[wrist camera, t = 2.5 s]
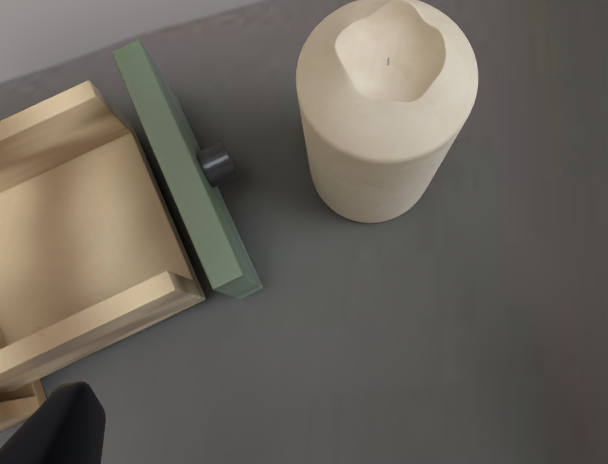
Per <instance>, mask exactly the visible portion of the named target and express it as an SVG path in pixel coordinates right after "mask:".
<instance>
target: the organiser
mask: <svg viewBox="0 0 608 464" xmlns="http://www.w3.org/2000/svg"><path fill="white" fill-rule="evenodd" d="M46 399H47V398H46V395H45V392H44V389H43V386H42V384H41V381H40V379H38V380H36V381H34V382H32V383H29V384H27V385H25V386H23V387H21V388H19V389H17V390H14V391H8V392H3V393H0V432H2V431H4V430H6V429H8V428H10V427H12V426H14V425H16V424H19V423H21V422H23V421H25V420H27V419H29V417H30V416H31V415H32V414H33V413H34V412H35V411H36V410H37V409H38V408H39V407H40V406H41V405H42V404H43V402H44V401H45V400H46Z"/></svg>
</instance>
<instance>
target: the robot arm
mask: <svg viewBox="0 0 608 464" xmlns="http://www.w3.org/2000/svg"><path fill="white" fill-rule="evenodd" d="M105 422H106V419H105V412H104V409H103V407H102V405H101V404H100V402H99V400H98V399H97V397H96V395H95V394H94V392H93V391H92V389H91V387H90V386H89V384H87V383H86V382H74V383H66V384H63V385H60V386H59V387H58V388H57V389H56V390H55V391H54V392H53V393H52V394H51V395H50V396H49V397H48V398H47V399H46V400H45V401H44V402H43V404H42V405H41V406H40V407H39V408H38V409H37V410H36V411H35V412H34V413H33V414H32V415H31V416H30V417H29V419H28V420H27V421H26V422H25V423H24V424H23V425H22V426H21V427H20V428H19V429H18V430H17V431H16V432H15V434H14V435H13V436H12V437H11V438H10V439H9V440H8V441H7V442H6V443H5V444H4V445H3V446H2V447H1V449H0V464H101V456H102V448H103V439H104V431H105Z"/></svg>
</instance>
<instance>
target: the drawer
mask: <svg viewBox="0 0 608 464" xmlns="http://www.w3.org/2000/svg"><path fill="white" fill-rule="evenodd" d="M111 53H112V56H113V58H114V61H115V63H116V65H117V68H118V70H119V72H120V75H121V77H122V79H123V82H124V84H125V86H126V89H127V91H128V93H129V96H130V98H131V100H132V103H133V105H134V107H135V110H136V112H137V114H138V117H139V119H140V121H141V124H142V126H143V128H144V131H145V133H146V135H147V138H148V140H149V142H150V145H151V147H152V149H153V152H154V154H155V156H156V159H157V161H158V163H159V166H160V168H161V170H162V173H163V175H164V177H165V180H166V182H167V184H168V187H169V189H170V192H171V194H172V196H173V199H174V201H175V203H176V206H177V208H178V210H179V213H180V215H181V217H182V220H183V222H184V224H185V227H186V229H187V231H188V234H189V236H190V238H191V241H192V243H193V245H194V248H195V250H196V252H197V255H198V257H199V259H200V262H201V264H202V266H203V269H204V271H205V273H206V276H207V278H208V280H209V283H210V285H211V287H212V289H213V290H215V291H218V292H220V293H223V294H225V295H228V296H230V297H233V298H235V299H238V300H240V299H242V298H244V297H246V296H248V295H250V294H253V293H255V292H257V291H259V290H261V289H262V288H263V286H262V284H261V282H260V280H259V278H258V275H257V273H256V271H255V269H254V266H253V264H252V262H251V260H250V258H249V255H248V253H247V251H246V249H245V247H244V244H243V242H242V240H241V238H240V236H239V233H238V231H237V229H236V227H235V224H234V222H233V220H232V218H231V216H230V213H229V211H228V209H227V207H226V205H225V202H224V200H223V198H222V196H221V193H220V191H219V189H218V187H217V186H219V185H222V184H224V183H226V182H228V181H230V180H232V179H234V178H236V177H238V176H239V173H238V170H237V168H236V166H235V164H234V162H233V159H232V157H231V155H230V153H229V151H228V149H227V147H226V146H225V144H224V142H223V141H220V142H218V143H216V144H213V145H211V146H209V147H207V148H205V149H203V150H201V149H200V147H199V145H198V143H197V140H196V138H195V136H194V134H193V131H192V129H191V127H190V125H189V123H188V120H187V118H186V116H185V114H184V112H183V109H182V107H181V105H180V103H179V101H178V98H177V96H176V94H175V93H174V91H173V90H172V88H171V87H170V85H169V84H168V82H167V81H166V79H165V78H164V76H163V75H162V73H161V72H160V70H159V69H158V67H157V66H156V64H155V63H154V61H153V60H152V58H151V57H150V55H149V54H148V52H147V51H146V49H145V48H144V46H143V45H142V43H141V42H140V41H139V40H136V41H134V42H132V43H129V44H127V45H125V46H123V47H121V48H119V49H116V50H114V51H112V52H111ZM204 300H205V296H204V293H203V291H202V288H201V286H200V284H199V281H198V279H197V277H196V274H195V272H194V270H193V267H192V265H191V262H190V260H189V258H188V255H187V253H186V251H185V248H184V246H183V244H182V241H181V239H180V237H179V234H178V232H177V229H176V227H175V225H174V222H173V220H172V218H171V215H170V213H169V211H168V208H167V206H166V203H165V201H164V199H163V196H162V194H161V192H160V189H159V187H158V185H157V182H156V180H155V177H154V175H153V173H152V170H151V168H150V166H149V163H148V161H147V159H146V156H145V154H144V151H143V149H142V147H141V144H140V142H139V140H138V137H137V135H136V133H135V130H134V128H133V126H132V124H131V123H130V122H129V121H128V120H127V119H126V118H125V117H124V116H123V115H122V114H121V113H120V112H119V111H118V110H117V109H116V108H115V107H114V106H113V105H112V104H111V103H110V102H109V100H108V99H107V98H106V97H105V96H104V95H103V94H102V93H101V92H100V91H99V90H98V89H97V88H96V87H95V86H94V85H93V84H92V83H91V82H90V81H86V82H83V83H81V84H79V85H77V86H75V87H73V88H70V89H68V90H66V91H64V92H62V93H60V94H57V95H55V96H53V97H51V98H49V99H47V100H44V101H42V102H40V103H38V104H36V105H33V106H31V107H29V108H27V109H25V110H23V111H20V112H18V113H16V114H14V115H12V116H10V117H7V118H5V119H3V120H1V121H0V393H3V392H8V391H14V390H17V389H19V388H21V387H23V386H25V385H27V384H29V383H32V382H34V381H36V380H38V379H40V378H42V377H44V376H46V375H48V374H50V373H53V372H55V371H57V370H59V369H61V368H63V367H65V366H67V365H69V364H71V363H73V362H76V361H78V360H80V359H82V358H84V357H86V356H88V355H90V354H92V353H94V352H97V351H99V350H101V349H103V348H105V347H107V346H109V345H111V344H113V343H115V342H118V341H120V340H122V339H124V338H126V337H128V336H130V335H132V334H134V333H136V332H139V331H141V330H143V329H145V328H147V327H149V326H151V325H153V324H155V323H157V322H160V321H162V320H164V319H166V318H168V317H170V316H172V315H174V314H176V313H178V312H180V311H183V310H185V309H187V308H189V307H191V306H193V305H195V304H197V303H199V302H201V301H204Z"/></svg>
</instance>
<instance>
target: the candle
mask: <svg viewBox="0 0 608 464" xmlns="http://www.w3.org/2000/svg"><path fill="white" fill-rule="evenodd" d="M296 87H297V95H298V101H299V107H300V113H301V119H302V125H303V131H304V137H305V143H306V149H307V155H308V161H309V167H310V172H311V176H312V180H313V183H314V186H315V188H316V190H317V192H318V194H319V196H320V197H321V198H322V200H323V201H324V202H325V203H326V204H327V205H328V206H329V207H330V208H331V209H332V210H333V211H335V212H336V213H338V214H339V215H341V216H343V217H345V218H347V219H350V220H353V221H357V222H362V223H379V222H384V221H387V220H390V219H393V218H395V217H397V216H400V215H402V214H403V213H405V212H406V211H408V210H409V209H410V208H411V207H412V206H413V205H415V203H416V202H417V201H418V200H419V199H420V197H421V196H422V194H423V193H424V191H425V190H426V188H427V186H428V185H429V183H430V181H431V180H432V178H433V176H434V174H435V173H436V171H437V169H438V168H439V166H440V164H441V162H442V161H443V159H444V157H445V156H446V154H447V152H448V150H449V149H450V147H451V145H452V143H453V142H454V140H455V138H456V137H457V135H458V133H459V131H460V130H461V128H462V126H463V125H464V123H465V121H466V119H467V118H468V116H469V114H470V111H471V109H472V107H473V105H474V101H475V98H476V95H477V88H478V69H477V62H476V59H475V55H474V52H473V50H472V47H471V45H470V43H469V41H468V40H467V38H466V36H465V35H464V33H463V32H462V31H461V29H460V28H459V27H458V26H457V25H456V24H455V23H454V22H453V21H452V20H451V19H450V18H449V17H448V16H446V15H445V14H444V13H442V12H441V11H439V10H438V9H436V8H434V7H432V6H430V5H428V4H426V3H423V2H421V1H418V0H357V1H354V2H351V3H349V4H347V5H345V6H343V7H340V8H339V9H337V10H336V11H334V12H332V13H331V14H330V15H328V16H327V17H326V18H325V19H323V20H322V21H321V22H320V23H319V24H318V25H317V27H316V28H315V29H314V30H313V31H312V33H311V34H310V35H309V37H308V39H307V40H306V42H305V44H304V46H303V48H302V51H301V53H300V56H299V60H298V64H297V71H296Z"/></svg>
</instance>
